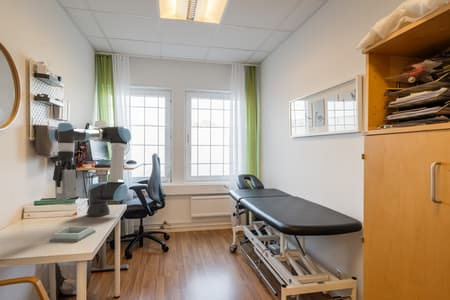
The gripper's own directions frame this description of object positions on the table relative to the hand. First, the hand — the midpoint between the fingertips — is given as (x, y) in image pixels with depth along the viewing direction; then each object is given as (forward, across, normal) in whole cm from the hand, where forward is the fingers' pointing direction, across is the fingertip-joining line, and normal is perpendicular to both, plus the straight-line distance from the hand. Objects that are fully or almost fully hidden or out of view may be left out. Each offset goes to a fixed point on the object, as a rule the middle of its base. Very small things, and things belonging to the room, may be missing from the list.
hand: (65, 191), depth 143 cm
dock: (+24, +2, +6) cm, 25 cm away
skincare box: (+4, 0, 0) cm, 4 cm away
